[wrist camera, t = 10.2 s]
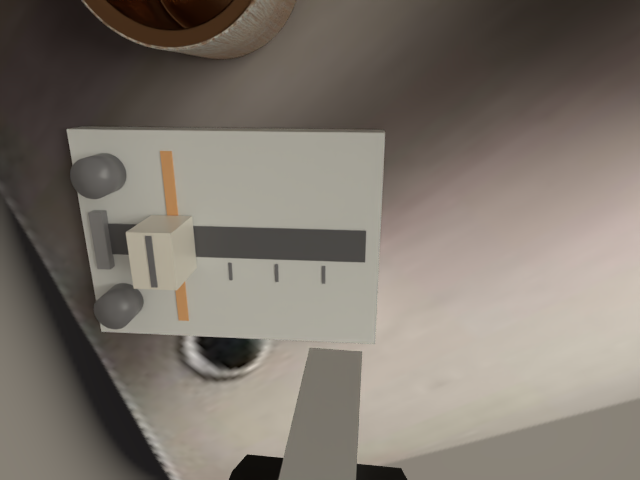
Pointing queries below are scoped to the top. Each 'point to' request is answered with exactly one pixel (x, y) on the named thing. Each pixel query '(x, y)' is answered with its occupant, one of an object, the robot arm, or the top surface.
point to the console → (238, 228)
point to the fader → (161, 252)
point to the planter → (195, 24)
